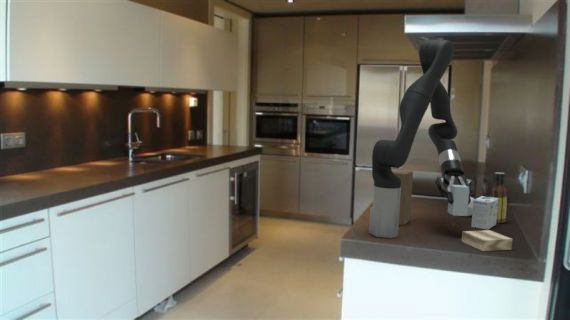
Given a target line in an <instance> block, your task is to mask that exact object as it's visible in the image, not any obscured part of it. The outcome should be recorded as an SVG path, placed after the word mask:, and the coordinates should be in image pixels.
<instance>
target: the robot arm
mask: <svg viewBox="0 0 570 320" xmlns="http://www.w3.org/2000/svg"><path fill="white" fill-rule="evenodd" d="M454 52H455V47H454V44H453V42H452V41H450V40H448V39H428V40H427V39H426V40H424V41H422V43H421V44H420V46H419V50H418V57H419V63H420V67H421V69H422V75H421V76H420V77H419V78H418V79H416V80H415V81H414V82H413V83H411V84H410V85H409V86H408V87H407V89H406V91H405V92H404V94H403V97H402V99H401V100H400V104H399V106H398V108H399V117H400V118H399V119H400V130H399V132H398V135H397V137H396V139H394V140H392V139H379V140H377V141H376V142H375V144H374V146H373V149H372V155H371V157H372V158H371V159H372V160H371V161H372V162H371V163H372V164H371V169H372V171H371V173H372V174H371V175H372V179H373V193H372V196H373V197H372V206H370V208H369V222H368V223H369V226H368V228H369V229H368V233H369V234H371V235H372V236H374V237H375V238H384V239H385V238H387V239H388V238H389V239H390V238H397V237H398V236H399V226H400V225H399V209H400V193H401V180H400V178H398V177H397V176H396V175H395V174H394V173H393V172H392V170H391V169H400V168H402V167H403V166H404V165H405V163H406V162H407V161H408V158H409V155H410V153H411V149H412V147H413V143H414V140H415V137H416V134H417V132H418V130H419V127H420V125H421V123H422V120H423V118H424V116H425V114H426V112H427V110H428V108H429V106H430V114H431V117H432V118H433V119H434V120H441V121H442V122H437V123H433V124H431V125H429V128H428V130H427V131H428V132H427V133H428V136H429V138H430V140H431V141H432V143H433V144H434V146H435V147H436V150H437V156H438V162H439V167H440V171H441V175H442V177H440V176H437V177H436V179H435V181H434V183H435V184H436V187H437V189H438V190H439V193H440V194H441V195H445V196H446V200H447V202H449V203H450V204H453V202H454V199H453V195H452V193H451V185H463V186H467V187H469V198H468V205H469V204H470V202H471V198H470V197H471V196H472V195H473V194H474V192H475V179H474V178H472V177H471V179H468V178H467V177H466V176H465V172H464V167H463V164H462V160H461V157H460V154H459V152H458V147H457V144H456V141H454V140H455V138H456V137H457V136H458V128H457V125H456V124H455V121H454V119H453V116H452V113H451V102H450V96H449V93H448V90H447V89H446V87H445V86H444V84H443V83H442V82H441V80H442V77H443V76H444V74H445V73H446V71H447V69H448V68H449V66H450V64H451V62H452V60H453V56H454ZM444 121H445V122H444ZM445 185H446V187H445Z"/></svg>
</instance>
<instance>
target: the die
mask: <svg viewBox="0 0 570 320" xmlns="http://www.w3.org/2000/svg"><path fill="white" fill-rule="evenodd" d="M470 198H471V202H470V204H469V205H468V209H467V216H465V217H472V211H473V200H475V199H476V198H474V197H471V196H470Z"/></svg>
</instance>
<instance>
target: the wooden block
mask: <svg viewBox="0 0 570 320" xmlns="http://www.w3.org/2000/svg"><path fill="white" fill-rule="evenodd" d="M391 170H392V172H393V173H394V174H395V175H396V176H397V177H398V178H400V180H401V193H400V209H399V226H403V227H404V225H406V224H408V223H409V222H410V220H411V210H412V209H411V208H412V197H413V196H412V192H413V180H414V177H413V176H414V170H407V169H399V168H391Z"/></svg>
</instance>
